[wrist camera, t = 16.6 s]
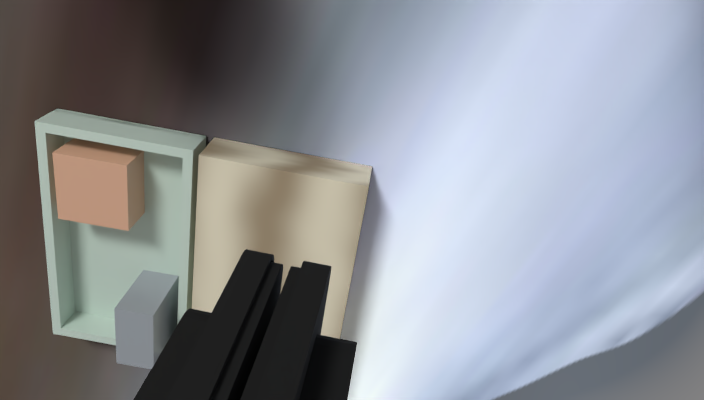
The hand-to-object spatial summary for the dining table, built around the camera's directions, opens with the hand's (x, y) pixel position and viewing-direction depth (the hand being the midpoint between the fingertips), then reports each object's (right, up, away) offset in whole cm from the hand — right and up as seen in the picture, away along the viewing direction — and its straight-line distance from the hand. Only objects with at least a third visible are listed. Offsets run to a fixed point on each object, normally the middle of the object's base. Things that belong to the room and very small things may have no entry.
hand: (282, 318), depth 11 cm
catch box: (-14, 0, +29) cm, 32 cm away
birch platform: (-4, -2, +29) cm, 29 cm away
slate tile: (-11, -6, +29) cm, 31 cm away
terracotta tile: (-14, +3, +25) cm, 29 cm away
